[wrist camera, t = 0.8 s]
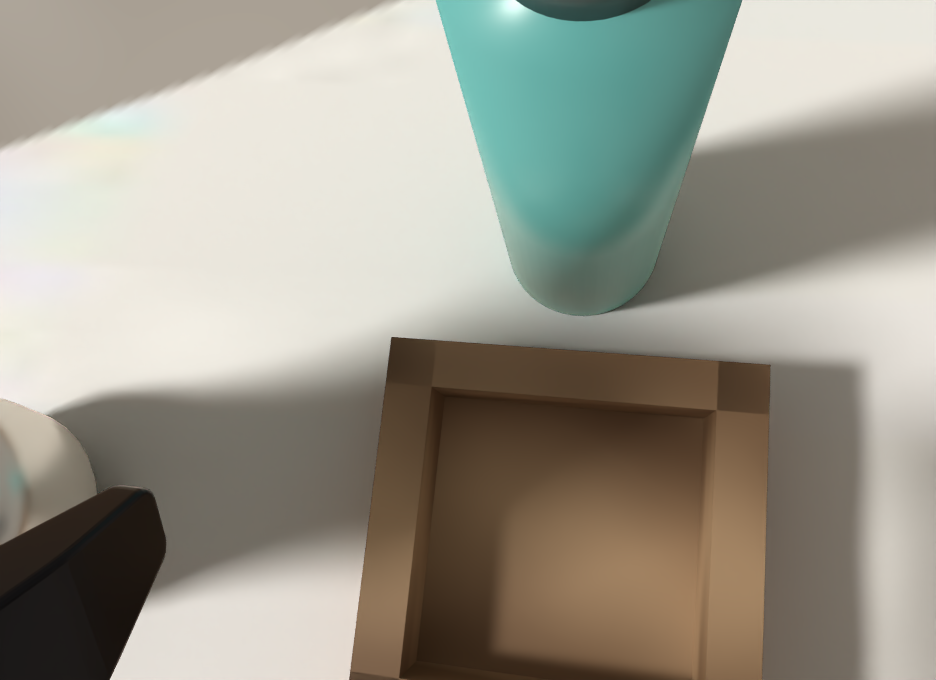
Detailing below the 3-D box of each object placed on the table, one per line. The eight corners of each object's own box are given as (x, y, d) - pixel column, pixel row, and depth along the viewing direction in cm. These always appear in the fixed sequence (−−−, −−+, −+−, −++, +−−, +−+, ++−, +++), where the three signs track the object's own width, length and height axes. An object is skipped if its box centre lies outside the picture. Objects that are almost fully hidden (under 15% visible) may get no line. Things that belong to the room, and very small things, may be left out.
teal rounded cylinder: (583, 346, 22) (593, 113, 9) (479, 247, 23) (342, -98, 10) (690, 240, 22) (859, -149, 9) (581, 147, 23) (585, -327, 10)
